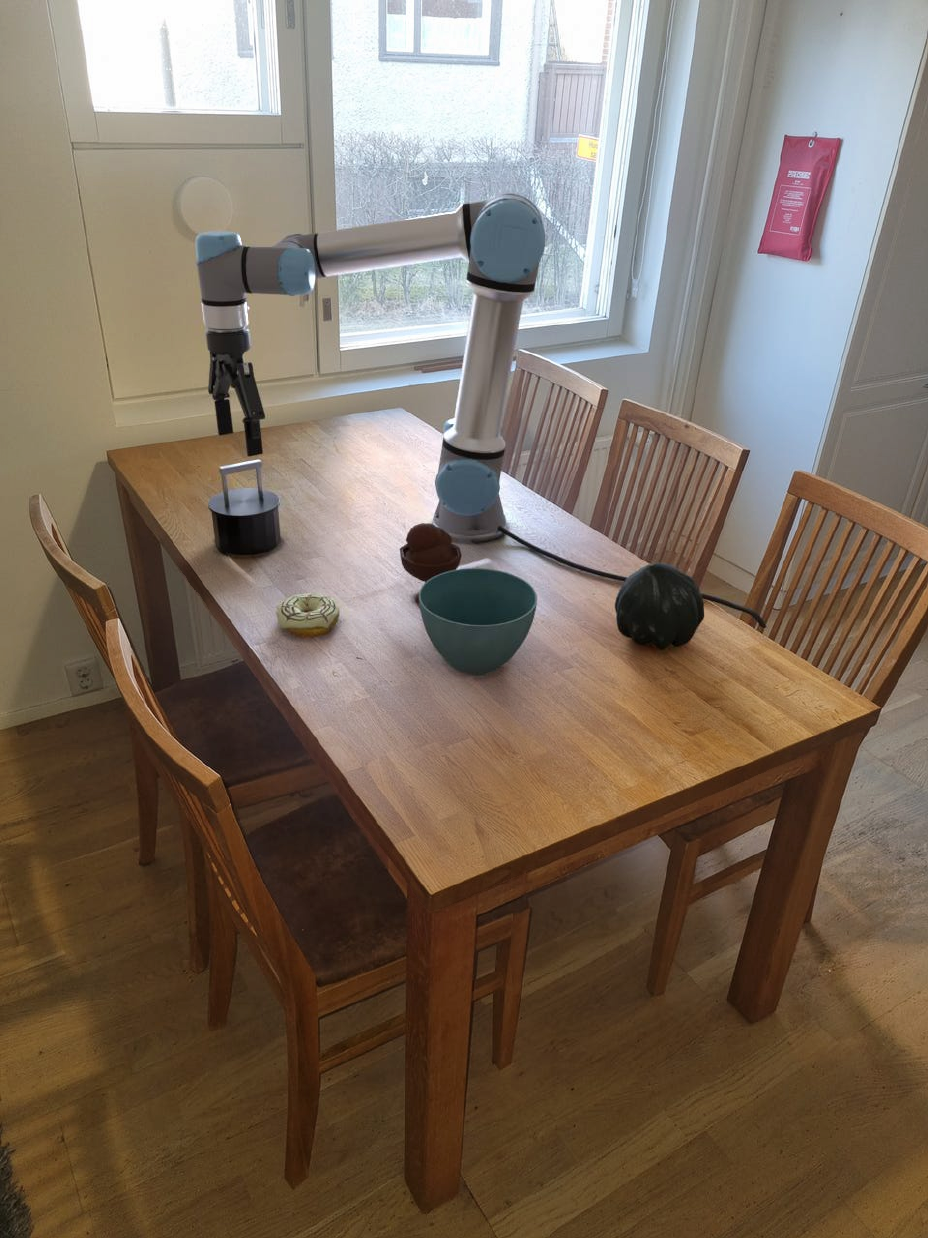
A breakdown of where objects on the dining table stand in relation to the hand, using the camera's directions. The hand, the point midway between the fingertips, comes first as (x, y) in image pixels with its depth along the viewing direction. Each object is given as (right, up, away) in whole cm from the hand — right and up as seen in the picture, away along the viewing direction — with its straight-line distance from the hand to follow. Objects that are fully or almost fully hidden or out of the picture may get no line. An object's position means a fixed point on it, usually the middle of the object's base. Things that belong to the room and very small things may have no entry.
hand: (240, 444), depth 169 cm
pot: (-1, -18, +10) cm, 21 cm away
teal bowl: (+44, -40, -24) cm, 64 cm away
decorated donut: (+16, -34, -15) cm, 40 cm away
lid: (-1, -10, +6) cm, 12 cm away
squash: (+74, -36, -16) cm, 84 cm away
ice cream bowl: (+36, -29, -7) cm, 47 cm away
